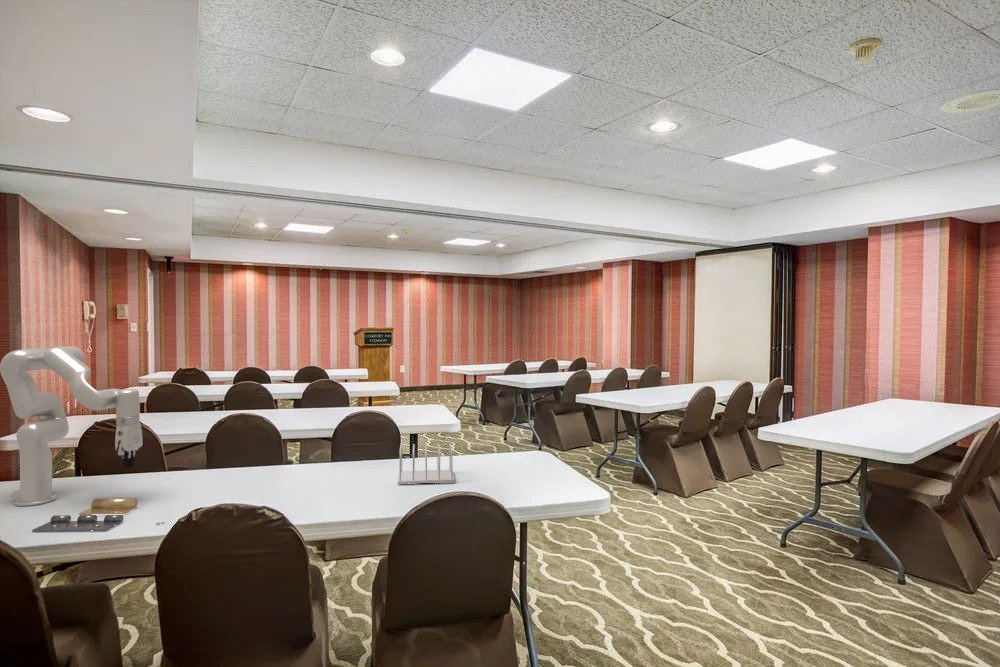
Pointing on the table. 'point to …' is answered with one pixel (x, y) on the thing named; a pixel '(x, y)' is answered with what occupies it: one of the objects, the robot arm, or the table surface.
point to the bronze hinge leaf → (111, 506)
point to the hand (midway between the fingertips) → (128, 467)
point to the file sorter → (426, 476)
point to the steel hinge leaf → (79, 523)
